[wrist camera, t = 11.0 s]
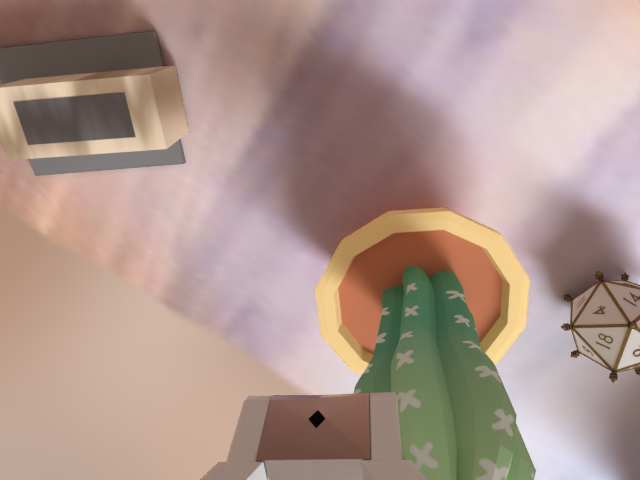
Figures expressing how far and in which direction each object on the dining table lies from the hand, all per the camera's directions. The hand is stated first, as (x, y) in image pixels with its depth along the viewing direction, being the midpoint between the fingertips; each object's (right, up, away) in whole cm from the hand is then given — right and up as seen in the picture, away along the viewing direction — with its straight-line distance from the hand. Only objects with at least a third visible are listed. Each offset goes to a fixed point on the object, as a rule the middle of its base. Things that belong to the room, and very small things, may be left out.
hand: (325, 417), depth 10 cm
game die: (+24, -1, +33) cm, 41 cm away
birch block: (-11, +13, +26) cm, 31 cm away
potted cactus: (+8, +2, +33) cm, 34 cm away
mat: (-18, +14, +29) cm, 37 cm away
